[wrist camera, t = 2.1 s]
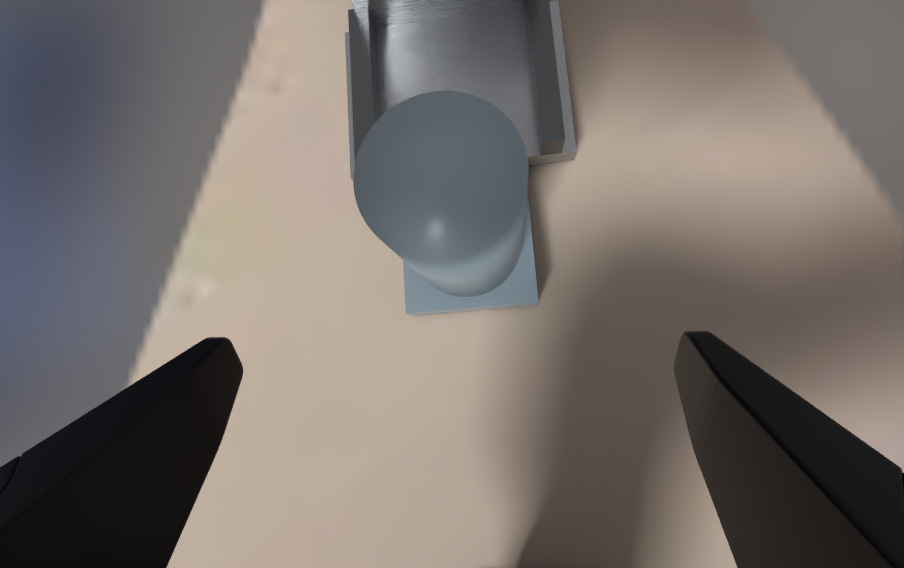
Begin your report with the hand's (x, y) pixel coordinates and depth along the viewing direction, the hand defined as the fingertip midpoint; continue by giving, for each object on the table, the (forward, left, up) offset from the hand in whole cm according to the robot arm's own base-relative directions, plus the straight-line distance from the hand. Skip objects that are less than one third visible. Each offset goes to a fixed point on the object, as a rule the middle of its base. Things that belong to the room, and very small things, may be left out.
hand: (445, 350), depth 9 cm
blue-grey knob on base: (+5, 0, -13) cm, 14 cm away
